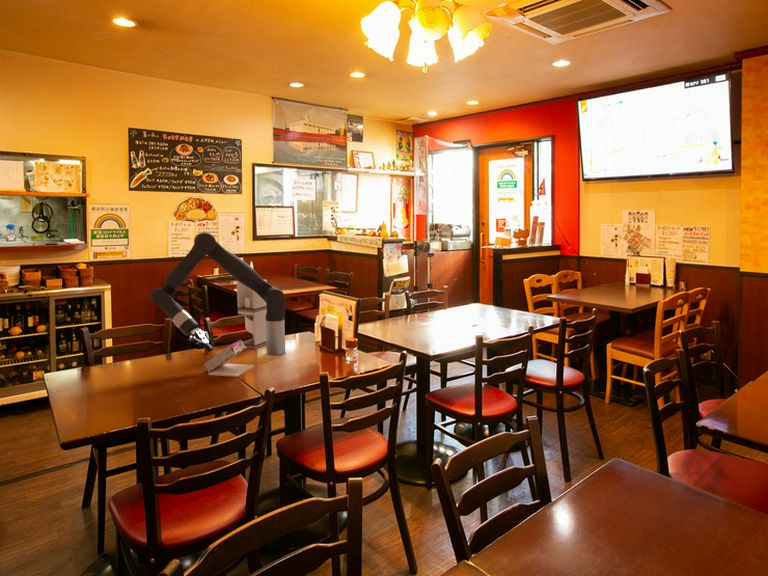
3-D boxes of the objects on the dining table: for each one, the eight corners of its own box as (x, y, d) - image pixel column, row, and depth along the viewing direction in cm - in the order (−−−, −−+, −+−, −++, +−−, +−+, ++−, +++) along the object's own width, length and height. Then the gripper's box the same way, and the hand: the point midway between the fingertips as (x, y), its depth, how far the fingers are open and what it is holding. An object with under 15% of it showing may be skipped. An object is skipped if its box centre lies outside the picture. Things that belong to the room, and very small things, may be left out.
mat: (226, 364, 248) (226, 363, 248) (254, 366, 245) (254, 365, 245) (208, 374, 233) (208, 373, 232) (237, 376, 230) (237, 375, 229)
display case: (252, 342, 292) (250, 278, 287) (268, 343, 288) (266, 279, 283) (239, 346, 281) (236, 281, 277) (255, 348, 277) (253, 282, 272)
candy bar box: (214, 357, 246) (241, 338, 242) (220, 366, 246) (247, 348, 242) (202, 363, 235) (229, 344, 231) (208, 373, 235) (235, 354, 231)
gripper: (181, 320, 233) (208, 348, 232) (198, 314, 246) (223, 341, 245) (171, 331, 235) (198, 359, 234) (188, 325, 248) (213, 352, 247)
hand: (211, 350), depth 240 cm, fingers closed
